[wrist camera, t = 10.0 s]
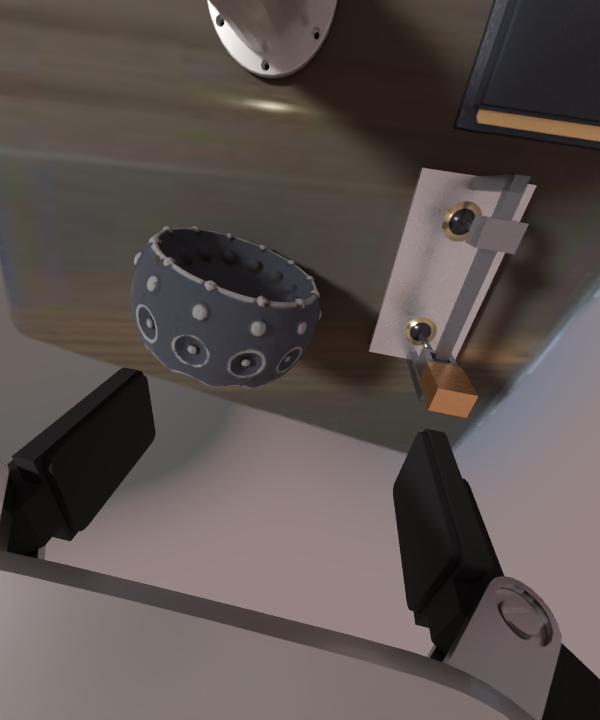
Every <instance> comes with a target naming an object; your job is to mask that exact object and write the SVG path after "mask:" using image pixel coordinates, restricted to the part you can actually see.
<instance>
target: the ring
mask: <svg viewBox="0 0 600 720" xmlns="http://www.w3.org/2000/svg"><path fill="white" fill-rule="evenodd" d="M134 264H135V271H134V275H133V281H132V312H133V317H134V321H135V324H136V327H137V330H138V332H139V335H140V337H141V339H142V341H143V343H144V344H145V346H146V347H147V348H148V349H149V350H150V351H151V352H152V353H153V354H154V355H155V356H156V358H157V359H158V360H159V361H160V362H161V363H162V364H163V365H164V366H166V367H167V368H169V369H170V370H172V371H173V372H178V373H182V374H186V375H189V376H191V377H194V378H196V379H197V380H199V381H201V382H203V383H204V384H206V385H209V386H214V387H222V386H242V387H246V388H254V387H259V386H261V385H264V384H266V383H269V382H271V381H274V380H276V379H278V378H280V377H281V376H283V375H284V374H285V373H286V372H288V371H289V370H290V369H291V368H292V367H293V366H294V365H295V364H296V363H297V362H298V361H299V359H300V358H301V357H302V355H303V354H304V352H305V350H306V349H307V347H308V345H309V343H310V341H311V339H312V337H313V334H314V331H315V328H316V324H317V322H318V321H319V320H320V318H321V310H320V307H319V296H320V294H319V292H318V290H317V287H316V285H315V283H314V278H313V277H312V276H309V275H307V274H306V273H305V272H304V271H303V270H302V269H300V268H299V267H298V266H296V265H295V263H294V261H292V260H287V259H285V258H284V257H282V256H280V255H278V254H276V253H274V252H272V251H270V250H268V249H267V248H266V247H265V246H264V245H256V244H253V243H251V242H248V241H245V240H243V239H240V238H237V237H234V236H233V235H232V234H230V233H227V234H222V233H218V232H214V231H208V230H203V229H199V228H198V227H197V226H193V227H192V228H170V227H167V226H166V227H164V228H163V230H162V231H160V232H158V233H157V234H156V235H155V236H154V237H152V238H151V239H150V240H149V243H148V244H147V246H146V247H145V249H144V250H143V251H142V252H140V253H138V254H137V255H136V256H135V259H134Z"/></svg>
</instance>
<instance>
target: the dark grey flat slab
mask: <svg viewBox="0 0 600 720" xmlns="http://www.w3.org/2000/svg"><path fill="white" fill-rule="evenodd" d="M454 128H456V129H461V130H465V131H470V132H477V133H487V134H497V135H503V136H510V137H517V138H523V139H530V140H537V141H543V142H550V143H557V144H563V145H570V146H577V147H583V148H590V149H597V150H600V0H494V1H493V5H492V8H491V11H490V14H489V18H488V21H487V24H486V28H485V31H484V34H483V37H482V40H481V43H480V46H479V49H478V52H477V55H476V58H475V61H474V64H473V67H472V70H471V74H470V77H469V80H468V83H467V86H466V89H465V92H464V96H463V99H462V102H461V106H460V109H459V112H458V115H457V118H456V121H455V124H454Z"/></svg>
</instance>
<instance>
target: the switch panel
mask: <svg viewBox="0 0 600 720" xmlns="http://www.w3.org/2000/svg"><path fill="white" fill-rule="evenodd" d="M530 179H531V177H530V176H524V175H517V174H512V175H494V176H473V175H466V174H460V173H453V172H447V171H441V170H434V169H428V168H420V170H419V173H418V177H417V180H416V184H415V187H414V191H413V194H412V197H411V201H410V204H409V208H408V211H407V215H406V218H405V222H404V225H403V229H402V232H401V236H400V239H399V243H398V246H397V250H396V253H395V257H394V260H393V264H392V267H391V270H390V274H389V277H388V281H387V284H386V288H385V291H384V295H383V298H382V302H381V305H380V309H379V312H378V316H377V319H376V323H375V326H374V330H373V333H372V336H371V340H370V343H369V352H374V353H379V354H385V355H390V356H395V357H400V358H405V359H406V360H407V363H408V366H409V370H410V373H411V376H412V380H413V383H414V386H415V390H416V393H417V396H418V400H420V401H425V399H424V396H423V393H422V389H421V386H420V383H419V379H420V378H419V375H418V372H417V369H416V366H415V365H416V363H417V360H418V358H419V355H420V352H421V350H422V348H423V346H422V343H421V341H420V338H419V335H420V334H421V333H425V334H426V336H427V338H428V340H429V343H430V345H431V347H432V349H433V350H435V352H434V355H433V357H432V358H433V360H434V361H439V362H444V363H447V362H448V359H449V357H450V355H451V354H452V355H453V357H454V359H456V357H457V355H458V353H459V351H460V348H461V346H462V344H463V342H464V340H465V338H466V336H467V333H468V331H469V329H470V327H471V325H472V323H473V321H474V318H475V316H476V314H477V312H478V310H479V308H480V306H481V303H482V301H483V299H484V297H485V295H486V293H487V291H488V289H489V286H490V284H491V282H492V280H493V278H494V276H495V274H496V271H497V269H498V267H499V265H500V263H501V261H502V259H503V256H504V254H505V253H510V254H515V252H516V250H517V248H518V246H519V243H520V241H521V239H522V237H523V235H524V233H525V231H526V229H527V227H528V225H529V224H527V223H522V222H520V220H521V218H522V216H523V214H524V211H525V209H526V207H527V205H528V203H529V201H530V199H531V196H532V194H533V192H534V190H535V188H536V186H537V185H531V184H528V183H529V181H530Z"/></svg>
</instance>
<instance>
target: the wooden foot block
mask: <svg viewBox="0 0 600 720" xmlns="http://www.w3.org/2000/svg"><path fill="white" fill-rule="evenodd" d="M419 338H420V341H421V343H422V346H423V348H422V350H421V352H420V355H419V358H418V360H417V363H416V365H415V366H416V369H417V372H418V375H419V378H420V379H419V383H420V386H421V389H422V393H423V396H424V399H425V402H426V405H427V408H428V410H431V411H436V412H441V413H446V414H451V415H455V416H460V417H465V418H467V416H468V414H469V412H470V410H471V409H472V407H473V405H474V403H475V401H476V400H477V398H478V395H477V393H476V391H475V390H474V388H473V386H472V384H471V383H470V381H469V379H468V378H467V376H466V374H465V372H464V371H463V369H462V368H461V367H459V366H458V364H457V362H456V361H455V359H454V357H453V355H452V354H451V355H450V357H449V359H448V362H447V363H444V362H439V361H434V360H433V358H432V357H433V355H434V352H435V350H433V349H432V347H431V345H430V343H429V340H428V338H427V336H426V334H425V333H421V334H420V335H419Z"/></svg>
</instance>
